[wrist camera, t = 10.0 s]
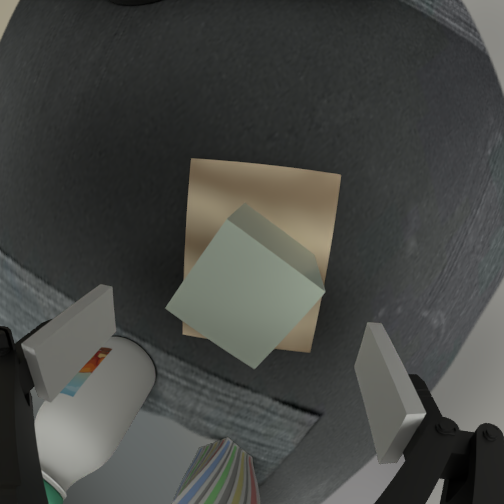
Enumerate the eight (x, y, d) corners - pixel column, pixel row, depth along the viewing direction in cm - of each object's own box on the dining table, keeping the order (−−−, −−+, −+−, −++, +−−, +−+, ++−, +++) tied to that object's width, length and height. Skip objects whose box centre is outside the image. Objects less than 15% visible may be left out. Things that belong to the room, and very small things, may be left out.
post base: (193, 158, 25) (167, 157, 19) (339, 174, 25) (356, 177, 19) (185, 330, 30) (163, 366, 24) (309, 348, 29) (313, 389, 23)
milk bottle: (148, 335, 31) (40, 484, 11) (164, 393, 32) (91, 538, 13) (89, 331, 31) (-26, 446, 12) (108, 386, 33) (23, 504, 14)
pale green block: (197, 268, 27) (165, 308, 19) (244, 202, 25) (226, 219, 18) (263, 315, 28) (254, 369, 20) (314, 254, 26) (325, 292, 18)
